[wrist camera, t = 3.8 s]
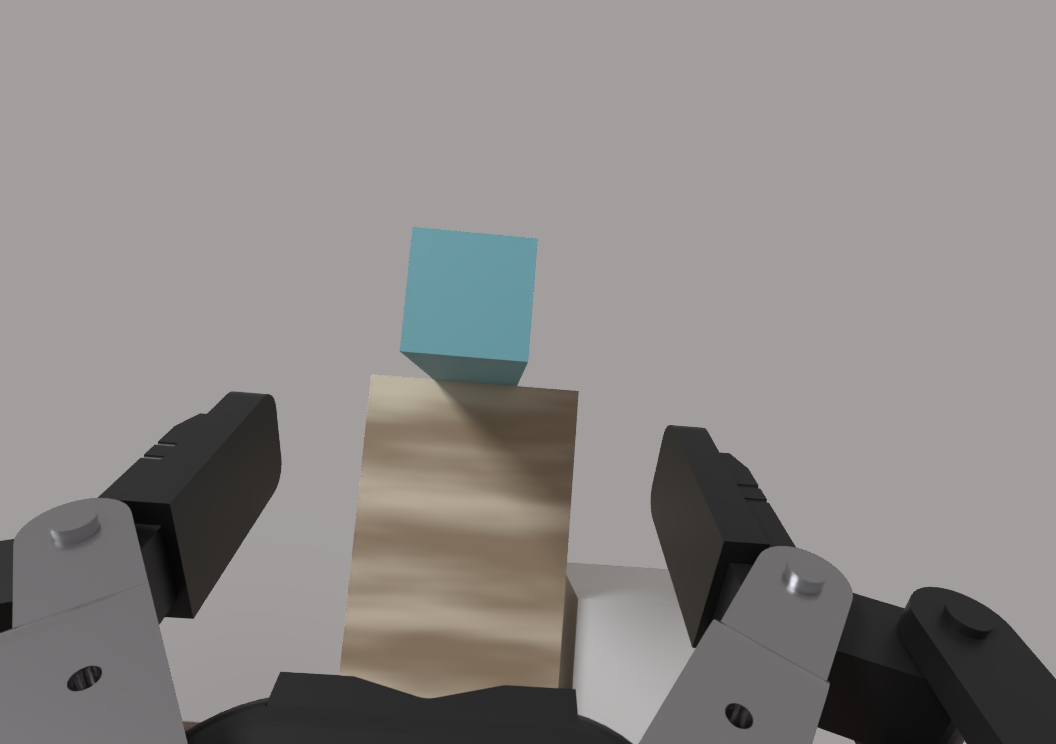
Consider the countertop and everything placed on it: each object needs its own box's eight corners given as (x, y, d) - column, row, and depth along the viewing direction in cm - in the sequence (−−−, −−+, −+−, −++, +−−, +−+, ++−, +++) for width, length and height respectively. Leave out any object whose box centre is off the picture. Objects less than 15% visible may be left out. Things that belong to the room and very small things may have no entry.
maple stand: (527, 1133, 25) (578, 391, 28) (291, 1128, 25) (371, 374, 28) (515, 861, 41) (548, 405, 44) (371, 854, 40) (416, 395, 44)
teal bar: (528, 361, 18) (537, 238, 19) (399, 351, 18) (412, 227, 19) (509, 402, 44) (513, 350, 45) (456, 398, 44) (461, 345, 44)
